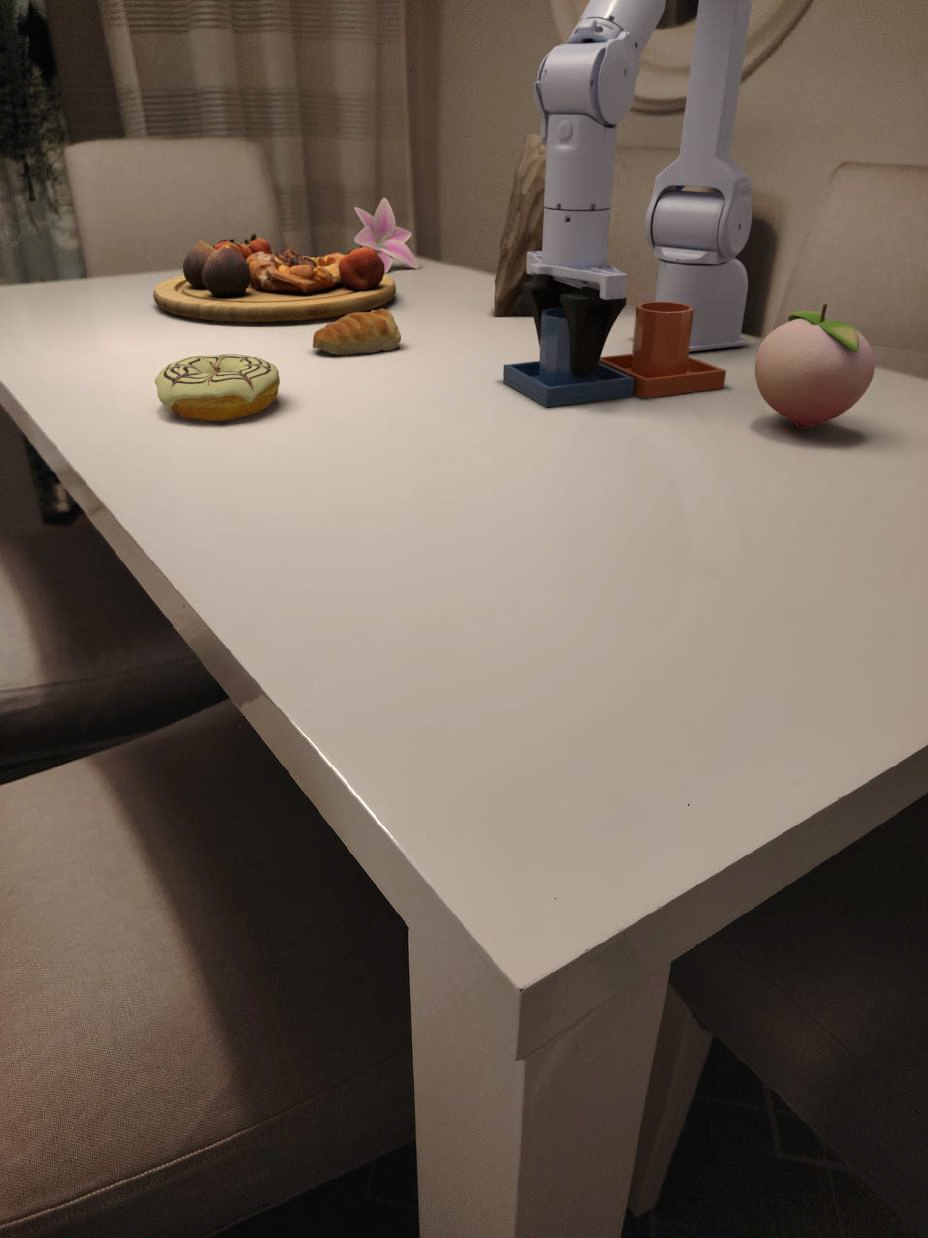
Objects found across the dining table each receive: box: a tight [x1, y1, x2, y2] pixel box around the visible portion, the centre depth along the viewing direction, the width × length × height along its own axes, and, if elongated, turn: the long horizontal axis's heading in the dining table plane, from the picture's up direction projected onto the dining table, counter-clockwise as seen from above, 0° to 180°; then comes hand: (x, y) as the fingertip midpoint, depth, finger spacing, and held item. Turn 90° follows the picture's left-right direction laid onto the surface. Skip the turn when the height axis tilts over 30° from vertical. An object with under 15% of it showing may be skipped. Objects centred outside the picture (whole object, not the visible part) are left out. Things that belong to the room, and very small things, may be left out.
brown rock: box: [493, 133, 581, 317], centre depth 114 cm, size 13×13×20 cm
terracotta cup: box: [631, 301, 694, 379], centre depth 86 cm, size 5×5×6 cm
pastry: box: [312, 308, 402, 356], centre depth 98 cm, size 9×7×4 cm
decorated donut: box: [154, 353, 281, 422], centre depth 79 cm, size 10×11×4 cm
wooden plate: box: [152, 233, 397, 323], centre depth 120 cm, size 32×32×8 cm
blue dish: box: [502, 360, 634, 408], centre depth 85 cm, size 9×9×2 cm
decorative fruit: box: [754, 303, 876, 429], centre depth 73 cm, size 9×8×10 cm
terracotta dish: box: [599, 353, 727, 399], centre depth 88 cm, size 9×9×2 cm
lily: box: [353, 197, 419, 274], centre depth 145 cm, size 12×12×10 cm
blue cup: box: [538, 307, 595, 387], centre depth 84 cm, size 5×5×6 cm
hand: (567, 366), depth 85 cm, fingers closed on blue cup, 5 cm apart
